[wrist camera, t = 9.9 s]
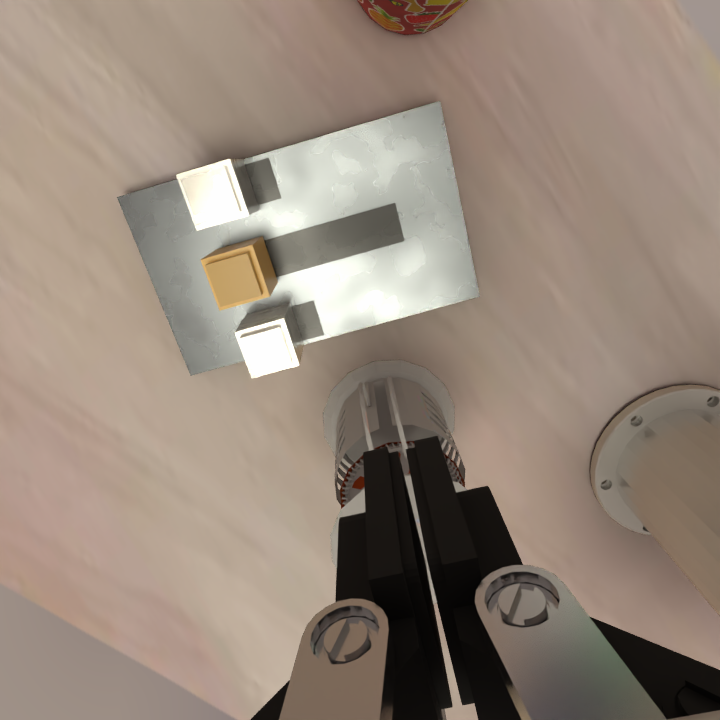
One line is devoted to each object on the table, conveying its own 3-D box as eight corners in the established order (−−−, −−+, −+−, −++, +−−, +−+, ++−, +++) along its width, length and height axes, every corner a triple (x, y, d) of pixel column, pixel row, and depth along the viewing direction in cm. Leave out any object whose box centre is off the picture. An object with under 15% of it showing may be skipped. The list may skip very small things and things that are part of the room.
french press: (341, 492, 42) (338, 912, 18) (299, 354, 38) (229, 662, 14) (466, 463, 41) (629, 858, 18) (437, 320, 37) (597, 583, 14)
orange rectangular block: (262, 235, 33) (250, 246, 29) (277, 282, 34) (268, 299, 30) (216, 249, 33) (197, 261, 29) (233, 295, 34) (217, 313, 30)
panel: (435, 103, 33) (455, 90, 27) (474, 291, 37) (498, 314, 31) (126, 195, 34) (82, 201, 28) (196, 367, 38) (170, 403, 32)
